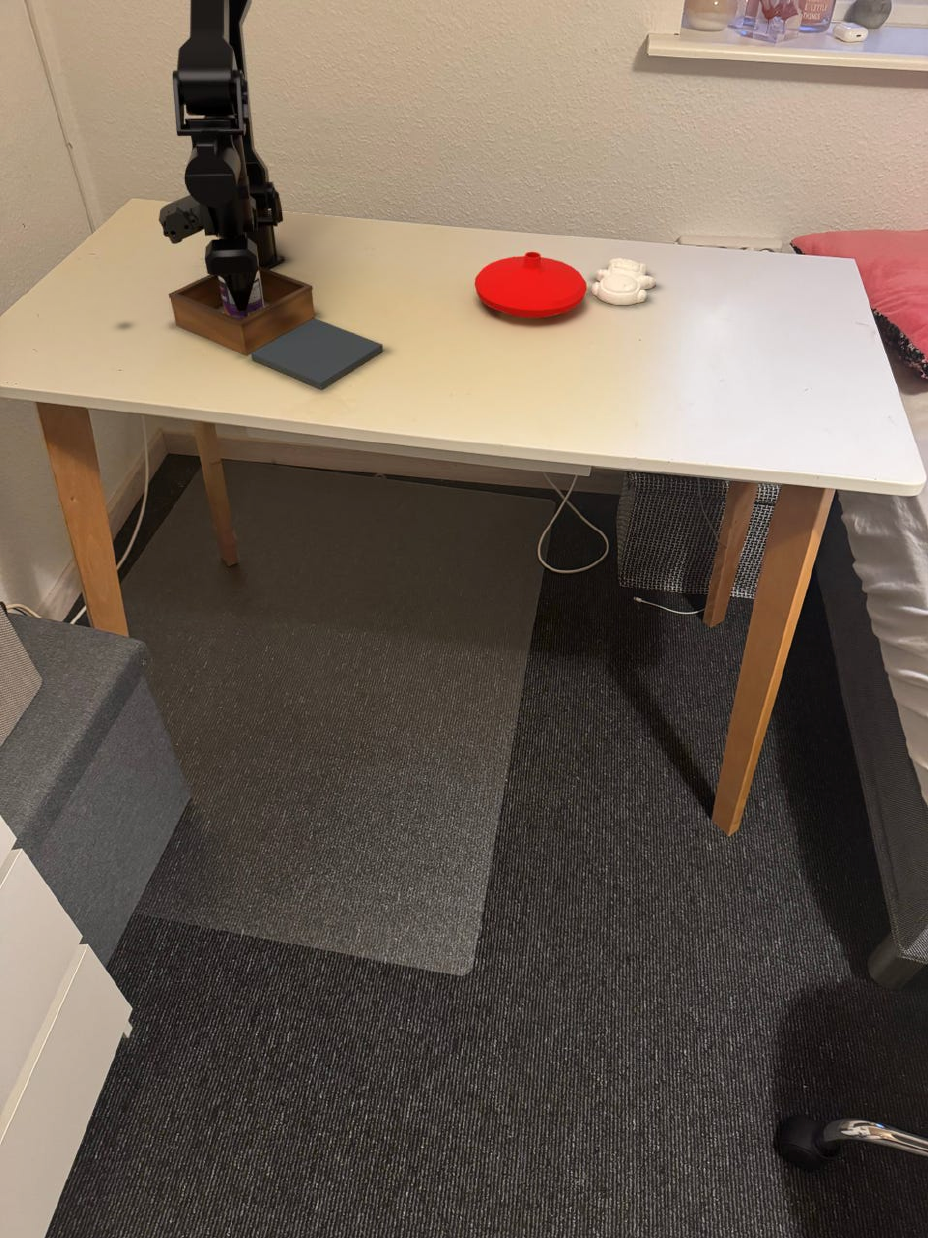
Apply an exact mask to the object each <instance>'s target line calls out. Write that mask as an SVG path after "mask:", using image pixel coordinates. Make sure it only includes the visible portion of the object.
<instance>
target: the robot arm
mask: <svg viewBox="0 0 928 1238" xmlns="http://www.w3.org/2000/svg"><path fill="white" fill-rule="evenodd" d="M189 2H190V3H189V4H190V9H189V10H190V11H189V13H190V14H189V25H190V26H189V38H188V39H187V40H186V41H185V42H184V43H182V45H181V46H179V48H178V51H177V61H176V63H177V64H176V70H175V69H174V70H173V71H172V91H173V102H174V103H173V104H174V117H175V129H176V136H177V137H190V140H191V146H192V147H191V153H190V155H189V158H188V161H187V164H186V167H185V171H184V177H183V179H184V185H185V188H186V190H187V191H188V194H189V195H186V196H184V197H182V198H180V199H177V200H175V201H173V202H170V203H168V204H166V205H164V206H162V207H161V209H160V210H159V215H158V222H159V223H160V225H161V227H162V234H163V236H164V237H166V238H168V239H169V241H170V242H171V244H173V245H176V244H179V243H181V242H183V240H185V239H186V238H189V237H191V236H194V235H195V234H198V233H200V232H202V231H203V232H204V236H205V237H211V236H215V237H216V238H215V239H213V238H212V239H211V240H210V241H209V242H208V243H207V245H206V246H205V248H204V249H205V251H204V262H205V267H206V273H207V274H208V275H218V276H220V277H221V278H223V279H224V281H225V283H226V285H227V287H228V289H229V292H230V294H231V296H232V299H233V301H234V303H235V305H236V308H237V310H238V311H246V310H247V306H248V303H249V299H250V295H251V292H252V288H253V285H254V281H255V278H256V275H257V272H258V271H259V266H261V267H263V268H266V269H270V268H273V267H274V266H277V265H278V264H281V263H282V262H284V261H286V258H285V256H284V255H281V254H279V253H278V251H277V244H276V235H275V227H278V226H279V224H280V223H282V222H284V213H283V207H282V201H281V197H280V193H279V191H278V190H276V187H275V184H274V182H273V181H270V175H269V169H268V167H267V165H266V164H265V162H264V161H263V159H262V158H261V156H260V154H259V153H258V151H257V149H256V148H255V137H254V127H253V119H252V109H251V99H250V88H249V79H248V70H247V59H246V50H245V39H244V29H243V25H244V23H245V20H246V18H247V16H248V14H249V11H250V9H251V7H252V3H253V0H190V1H189ZM185 112H186V114H187V115H188V116H190V117H188V118H187V117H186V118H185ZM197 116H198V117H199V118H198V117H197ZM201 116H203V117H201ZM192 117H194V118H192ZM196 117H197V118H196Z"/></svg>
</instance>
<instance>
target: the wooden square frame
mask: <svg viewBox="0 0 928 1238" xmlns="http://www.w3.org/2000/svg"><path fill="white" fill-rule="evenodd" d="M259 273H260V280H261V287H262V294H263V301H266V302H269V303H270V304H269V305H266V306H264V308H263V309H261V310H259V311H257V312H255V313H253V314H251V315H249V316H247V317H245V318H244V319H242V320H240V319H238V318H235V317H233V316H231V315H228V314H226V313H225V312H223V311H221V310H219V309H217V308H219V307H221V306H223V301H222V295H221V290H220V284H219V278H218V275H210V274H208V275H206V276H203V277H202V278H199V279H197V280H195V281H193V282H191V283H189V284H186V285H184V286H182V287H180V288H178V289H176V290H174V291H172V292H170V293H168V298H169V299H170V302H171V307H172V312H173V317H174V321H175V325H176V327H179V328H181V329H184V330H186V331H188V332H191V333H193V334H195V335H197V336H200V337H202V338H204V339H207V340H209V341H212V342H214V343H216V344H219V345H221V346H223V347H226V348H228V349H231V350H233V351H235V352H237V353H240V354H241V355H244V356H248V355H249V354H251V353H252V352H254V351H256V350H258V349H259V348H261V347H263V346H265V345H267V344H268V343H270V342H272V341H274V340H275V339H277V338H279V337H281V336H283V335H284V334H286V333H288V332H290V331H292V330H293V329H295V328H297V327H299V326H300V325H302V324H304V323H306V322H308V321H309V320H311V319H313V318H315V317H316V316H315V307H314V298H313V297H314V296H313V290H314V286H313V285H312V284H308V283H307V282H303V281H301V280H298V279H296V278H293V277H290V276H287V275H284V274H282V273H279V272H276V271H274V270H271V269H270V268H268V269H266V268H263V267H261V266H259Z"/></svg>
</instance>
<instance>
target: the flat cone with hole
mask: <svg viewBox="0 0 928 1238" xmlns="http://www.w3.org/2000/svg"><path fill="white" fill-rule="evenodd" d="M474 287H475V288H474V289H475V291H476V293H477V296H478V298H479V299H480V301H481V302H483V304H485V305H486V306H488V307H490V308H492V309H493V310H495V311H497V312H501V313H504V314H507V315H510V316H513V317H518V318H526V319H540V318H547V317H552V316H557V315H560V314H564V313H567V312H569V311H572V310H574V309H576V307H577V306H579V305H580V304H581V302H582V300H583V299H584V297H585V294H586V293H587V290H588V286H587V282H586V280H585V278H584V277H583V275H582V274H581V273H580V271H578V270H577V269H576V268H574V267H573V265H570V264H567V263H566V262H563V261H561V260H557V259H553V258H548V257H543V256H542V255H541V253H539V252H537V251H527V252H525V253H524V255H521V256H520V255H519V256H510V257H506V258H500V259H497V260H495V261H492V262H490V263H489V264H487V265H485V266H484V267H483V268H482V269H481V270H480V271H479V272H478V274H477V275H476V276H475V278H474Z"/></svg>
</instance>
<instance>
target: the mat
mask: <svg viewBox="0 0 928 1238" xmlns="http://www.w3.org/2000/svg"><path fill="white" fill-rule="evenodd" d="M383 352H384V347H383V344H382V343H380V342H377V341H375V340H372V339H369V338H366V337H364V336H361V335H359V334H356V333H354V332H351V331H349V330H346V329H344V328H341V327H338V326H336V325H333V324H331V323H328V322H326V321H323V320H321V319H318V318H315V317H314V318H312V319H310V320H308V321H307V322H305V323H303V324H301V325H299V326H298V327H296V328H294V329H292V330H290V331H289V332H287V333H285V334H283V335H282V336H280V337H278V338H276V339H274V340H273V341H271V342H269V343H267V344H265V345H264V346H262V347H260V348H258V349H256V350H255V351H253V352H251V353H250V355H251V361H253V362H256V363H258V364H260V365H263V366H264V367H267V368H270V369H272V370H275V371H277V372H279V373H281V374H284V375H286V376H289V377H291V378H292V379H293V378H294V379H296V380H298V381H300V382H303V383H305V384H307V385H309V386H312V387H314V388H316V389H318V390H321V391H322V390H324V389H326V388H327V387H329V386H330V385H332V384H333V383H335V382H337V381H339V380H340V379H341V378H343V377H345V376H346V375H347V374H349V373H351V372H352V371H355V370H356V369H357V368H359V367H360V366H362V365H364V364H365V363H367V362H368V361H370V360H372V359H373V358H375V357H376V356H378V355H379V354H381V353H383Z"/></svg>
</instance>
